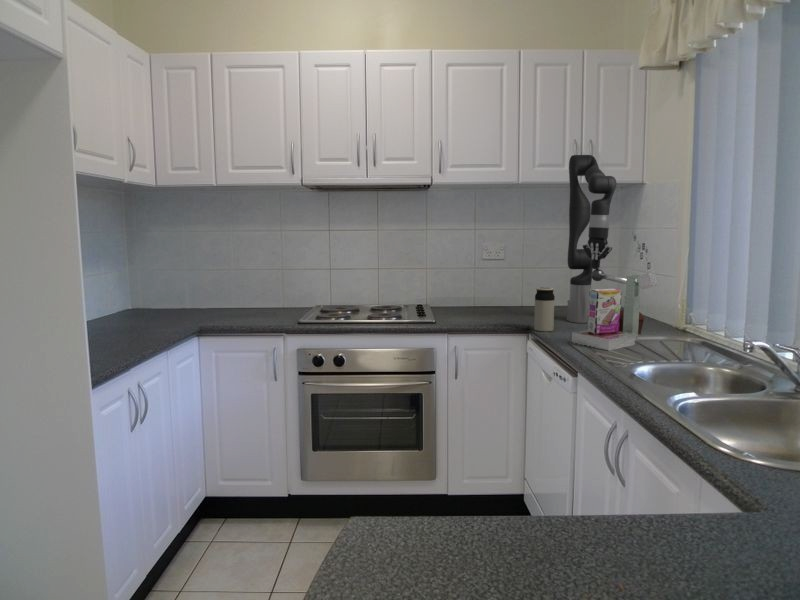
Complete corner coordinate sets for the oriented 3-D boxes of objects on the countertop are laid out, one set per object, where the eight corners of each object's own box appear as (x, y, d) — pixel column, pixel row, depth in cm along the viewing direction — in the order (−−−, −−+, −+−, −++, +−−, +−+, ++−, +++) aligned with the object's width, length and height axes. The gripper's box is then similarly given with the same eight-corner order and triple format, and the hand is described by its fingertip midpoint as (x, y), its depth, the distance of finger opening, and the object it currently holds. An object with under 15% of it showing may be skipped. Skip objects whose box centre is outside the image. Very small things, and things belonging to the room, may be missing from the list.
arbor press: (571, 342, 212) (574, 277, 208) (613, 334, 227) (616, 273, 223) (608, 350, 199) (612, 280, 195) (649, 341, 214) (653, 276, 210)
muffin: (616, 329, 237) (617, 306, 236) (644, 331, 232) (645, 308, 231) (612, 334, 227) (613, 310, 226) (642, 337, 222) (643, 312, 220)
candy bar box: (595, 335, 205) (597, 290, 203) (586, 332, 210) (588, 289, 208) (620, 332, 209) (622, 289, 207) (610, 330, 214) (612, 288, 211)
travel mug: (540, 332, 232) (541, 289, 229) (530, 328, 240) (531, 287, 237) (557, 331, 234) (558, 288, 232) (547, 327, 242) (548, 286, 239)
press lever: (597, 304, 226) (587, 271, 229) (604, 303, 229) (594, 271, 232) (651, 285, 206) (640, 249, 209) (659, 284, 209) (647, 249, 212)
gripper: (579, 225, 229) (576, 267, 232) (607, 227, 218) (604, 271, 221) (590, 225, 233) (587, 266, 236) (618, 226, 222) (615, 270, 225)
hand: (595, 268), depth 228 cm, fingers closed
